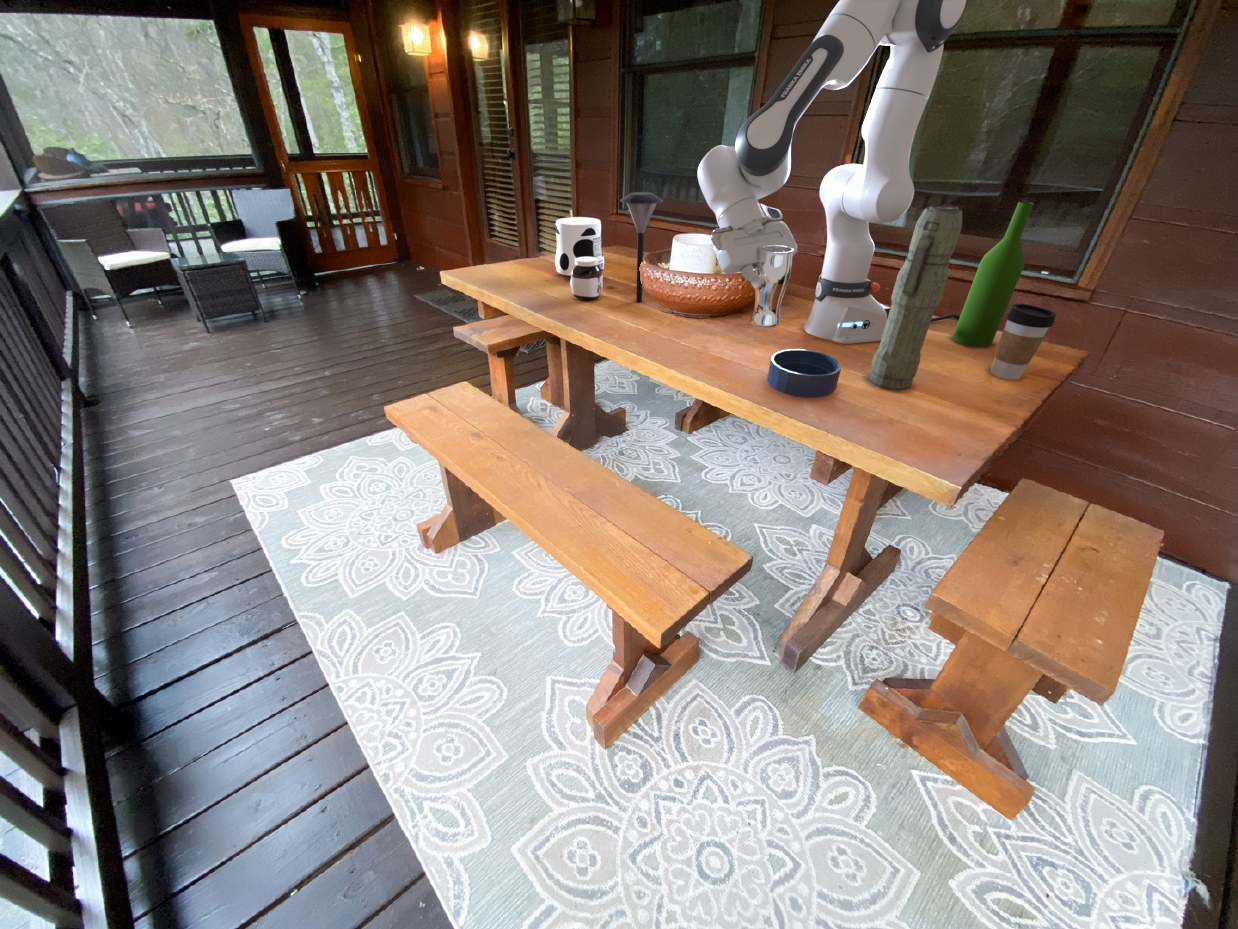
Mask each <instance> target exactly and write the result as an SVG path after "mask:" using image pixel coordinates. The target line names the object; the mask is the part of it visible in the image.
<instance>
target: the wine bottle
mask: <svg viewBox="0 0 1238 929" xmlns="http://www.w3.org/2000/svg"><path fill="white" fill-rule="evenodd" d="M1034 205H1035V203H1033V202H1029V201H1019V202H1017V205H1016V208H1015V210H1014V212H1013V215H1012V217H1011V220H1010V222H1009V224H1008V227H1007V230H1006V232H1005V235H1004V237H1002V239H1001V240H1000V241H998V243H996V244H995V245H994V246H993V247H992V248H991V249H990V250H989V251H987V252H986V253H984V255H983V257H982V258H981V260H980V262H979V264H978V268H977V270H976V273H975V276H974V277H973V280H972V284H971V286H970V289H969V291H968V294H967V297H966V300H965V302H964V305H963V308H962V310H961V313H960V315H959V316H960V318H959V320H957V324H956V327H955V330H954V332H953V335H952V340H953V341H954V342H956V343H957V344H959V345H961V346H966V347H971V348H988V347H991V345H992V344H993V342H994V340H995V338H996V337H995V336H996V335H997V332H998V330H999V327H1000V325H1001V323H1002V320H1003V318H1004V315H1005V313H1006V311H1007V309H1008V306H1009V303H1010V301H1011V299H1012V296H1013V294H1014V291H1015V289H1016V287H1017V284H1018V282H1019V280H1020V277H1021V275H1022V272H1023V270H1024V267H1025V264H1026V263H1025V262H1026V258H1025V254H1024V250H1023V247H1022V242H1021V238H1022V235H1023V232H1024V230H1025V228H1026V225H1027V222H1028V220H1029V218H1030V217H1029V216H1030V215H1031V212H1032V209H1033V206H1034Z"/></svg>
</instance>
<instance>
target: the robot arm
mask: <svg viewBox="0 0 1238 929" xmlns="http://www.w3.org/2000/svg"><path fill="white" fill-rule="evenodd" d="M968 2H969V0H839V1H838V2H837V3H836V5H835V6H834V8H833V9H831V12H830V13H829V15H828V16H827V17H826V19H825V21H824V22H823V24H822V26H821V27H820V29H819V30H818V32H817V33H816V35H815V37H814V39H813V40H812V42H811V43H810V44H809V45H808V47H807V48H806V50H805V51H804V52H803V53H802V54H801V56H800V57H799V59H798V60H797V62H795V64H794V66H793V67H792V68H791V70H790V71H789V72H788V73H787V75H786V77H785V78H784V79H783V80H782V82H781V83H780V85H779V86H778V88H777V89H776V91H775V92H774V93H773V95H772V96H771V97H770V98H769V99H768V101H767V102H765V104H764V105H763V106H761V107H759V109H758V110H756V111H755V112H754V113H753V114H751V115H750V116H749V117H748V118H747V119H746V120H744V122H743V124H742V125H741V126H740V127H739V130H738V132H737V134H736V138H735V144H734V146H727V145H724V144H719V145H716V146H714V147H712V148H711V149H709V151H708V152H707V153H706V154H705V155H704V156H703V157H702V159H701V161H700V163H699V165H698V167H697V172H696V173H697V175H696V177H697V181H698V185H699V188H700V190H701V192H702V195H703V197H704V200H705V201H706V203H707V205H708V207H709V209H710V210H712V212H713V213H714V215H715V218H716V223H717V225H718V227H719V228H718V227H717V228H714V229H713V230H712V232H711V233H710V241H711V243H712V245H713V251H714V255H715V257H716V259H717V262H718V266H719V267H720V269H721V271H722V273H724V274H726V275H733V274H737V273H741V275H742V277H743V278H744V279H746V280H747V281H748V282H749V283H750V284H751V286H752V287H753V289H754V290H755V289H757V288H761V287H762V286H763V285H764V281H763V279H762V277H761V276H759V277H758V275H757V274H756V273H755V268H756V263H757V262H758V260H759V259H758V254H759V248H760V247H762V246H767V245H778V246H786V247H790V248H792V249H793V256H792V258H793V257H794V256H795V255H796V254H797V253H798V244H797V243H796V242H797V241H796V240H795V238H794V236H793V234H792V232H791V229H790V228H789V227H788V225H787V224H786V222H784V221H782V220H783V218H784V217H783V216H784V215H783V213H782V211H781V210H780V209H779V208H774V207H771V206H768V205H765V204H763V203H759V201H760V200H761V199H764V198H766V197H768V196H770V195H773V194H774V193H777V192H778V191H779V190H781V189H782V188H783V187H784V186H785V184H786V183H787V181H788V180H789V177H790V174H791V168H792V166H791V165H792V155H791V154H792V141H793V136H794V132H795V128H796V126H797V124H798V121H799V120H800V118H801V117H802V116H803V114H804V113H805V112H806V110H807V109H808V108H809V106H810V105H811V103H812V102H813V101H814V99H815V98H816V96H817V95H818V94H819V92H820V91H821V90H822V89H826V90H832V91H835V90H840V89H844V88H846V87H848V86H849V85H850V84H851V83H852V82H853V81H854V80H855V79H856V77H857V76H858V75H859V74H860V73H861V72H862V70H863V69H864V68H865V66H867V64H868V63H869V61H870V59H871V58H872V56H873V54H874V53H875V52H876V50H877V48H878V47H879V46H880V45H881V46H890V52H889V53H890V54H889V58H888V60H887V61H886V64H885V66H884V68H883V70H882V73H881V75H880V78H879V80H878V82H877V84H876V88H875V91H874V93H873V95H872V98H871V101H870V104H869V106H868V109H867V111H866V115H865V118H864V120H863V123H862V126H861V137H862V139H863V141H864V148H865V150H864V159H863V164H858V163H848V164H843V165H839V166H836V167H834V168H832V169H830V170H829V171H828V172H827V173H826V174H825V176H824V177H823V179H822V181H821V183H820V186H819V199H820V202H821V203H822V205H823V206H822V207H823V208H824V212H825V219H826V220H825V221H826V236H827V237H826V239H827V240H826V249H825V254H824V259H823V264H822V269H821V274H820V275H819V276H818V280H817V283H816V287H815V294H814V301H813V305H812V308H811V310H810V313H809V316H808V318H807V320H806V322H805V324H804V325H803V331H805V332H806V333H807V334H808V335H810V336H814V337H816V338H819V339H824V340H828V341H832V342H835V343H838V344H841V345H847V344H858V343H859V344H860V343H870V342H871V343H872V342H881V340H882V336H883V333H884V329H885V326H886V323H887V319H888V316H889V312H890V309H891V307H889V306H887V305H884V304H883V303H880V302H878V300H877V299H875V298H874V297H873V295H872V294H871V292H873V293H877V292H878V291H880V289H881V285H880V284H879V283H877V282H875V281H871V280H870V279H869V278H868V277H869V273H870V269H871V266H872V261H873V258H874V254H875V242H874V241H873V238H872V237H871V234H870V229H869V223H871V224H881V223H882V224H884V223H892V222H895V221H897V220H899V219H900V218H901V217H903V216H904V215H905V213H906V212H907V211H908V210H909V208H910V207H911V204H912V202H913V200H914V196H915V185H914V183H913V180H912V178H911V174H910V156H911V151H912V150H911V148H912V145H913V141H914V138H915V135H916V131H917V129H918V126H919V124H920V121H921V118H922V116H923V113H924V111H925V108H926V106H927V103H928V101H929V98H930V96H931V93H932V91H933V88H934V84H935V82H936V79H937V76H938V73H939V70H940V65H941V62H942V58H943V53H944V47H945V46H944V44H945V42H947V40H948V39H949V37H950V36H951V34H952V33H953V32H954V31H955V30H956V28H957V26H958V25H959V23H960V22H961V20H962V17H963V16H964V14H965V11H966V9H967V6H968ZM762 250H765V251H769V252H773V251H772V250H770V249H767V248H764V249H762ZM791 277H792V276H791V275H790V277H789V280H790V279H791ZM960 316H961V315H959V314H957V313H950V314H946V315H943V316H938V317H937V316H936V317H932V319H931V322H930V323H933V322H939V321H944V320H947V319H950V318H955V319H956V320H957V321H959V318H960Z"/></svg>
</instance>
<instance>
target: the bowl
mask: <svg viewBox="0 0 1238 929" xmlns="http://www.w3.org/2000/svg"><path fill="white" fill-rule="evenodd" d="M841 371H842V364H841V362H840V361H839V360H838V359H836V358H835V357H833V356H832V355H830V354H828V353H827V354H826V353H824V352H821V351H815V350H812V349H803V348H792V349H791V348H789V349H782V350H779V351H776V352H775V353H773V354H772V355H771V356H770V362H769V368H768V373H767V379H766V380H767V383H768V384H769V386H770V387H772V388H773V389H774V390H775V391H777V392H779V393H782V394H785V395H788V396H792V397H798V398H804V399H819V398H824V397H828V396H830V395H832V394H833V393H834V392H835V391H836V389H837V387H838V384H839V383H838V382H839V379H840V375H841Z"/></svg>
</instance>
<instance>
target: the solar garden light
mask: <svg viewBox="0 0 1238 929" xmlns="http://www.w3.org/2000/svg"><path fill="white" fill-rule="evenodd" d="M619 201H620V202H621V203H624V204H626V205H627V207H628V211H629V213H630V216H631V219H632V221H633V225H634V227H635V229H636V232H637V242H636V244H637V245H636V283H635V284H636V287H635V289H636V291H635V302H636V303H642V302H643V283H642V284H641V281H640V271H639V267H640V264H641V262H643V263H644V245H645V244H644V243H645V242H644V241H645V240H644V239H645V231H646V229H647V226H648V224H649V222H650V221H651V220H650V219H651V217H652V215H653V212H654V210H655V209H656V206H657V204H660V203H663V202H664V200H663V199H662V198H660V197H659V196H658V195H656V194H655V193H653V192H647V191H646V192H645V191H634V192H630V193H629V194H627V195H626V196H624V197H623V198H621V199H619Z"/></svg>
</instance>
